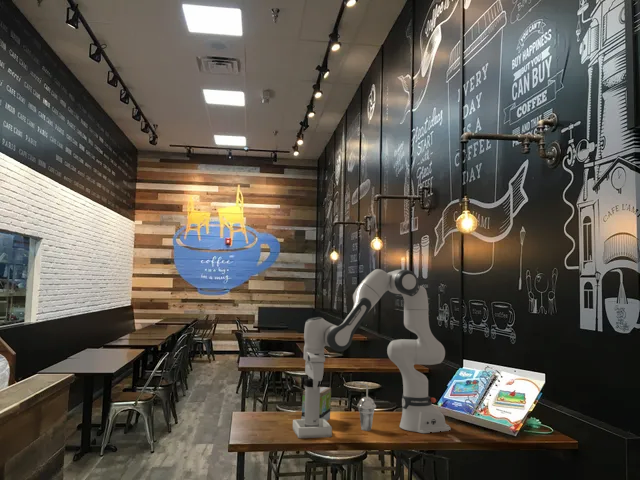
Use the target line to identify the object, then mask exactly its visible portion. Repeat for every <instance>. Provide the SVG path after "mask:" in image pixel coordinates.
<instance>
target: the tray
mask: <svg viewBox="0 0 640 480" xmlns="http://www.w3.org/2000/svg"><path fill="white" fill-rule="evenodd" d="M304 423H305V419H300V418H299V419H292V430H293V432H294V433H295V435H296V437H297V439H313V438H314V439H316V438H317V439H319V438H320V439H321V438H332V437H333V436H332V435H333V433H332V432H333V426H332V425H330V423H329V422H328V420H327V421H326V420H325V419H319V427H305V426H304Z"/></svg>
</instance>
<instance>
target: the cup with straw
mask: <svg viewBox="0 0 640 480" xmlns="http://www.w3.org/2000/svg"><path fill="white" fill-rule="evenodd" d="M355 384H358V385H360V386H363V387H366V390H365V391H366V393H365V394H366V396H363V397H361V399H359V401H358V403H357V405H356V407H358V412H359V420H360V427H361V428H360V429H361V430H362V431H372V427H373V418H374V413H375V409H376V408H377V405H376V404H375V401H374V399H373V398H371V397H370V396H369V386H368V384H367V383H362V382H359V381H355Z"/></svg>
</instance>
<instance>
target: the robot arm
mask: <svg viewBox="0 0 640 480" xmlns="http://www.w3.org/2000/svg"><path fill="white" fill-rule="evenodd" d="M386 292H388V293H390V294H396V295H401V296H402V297H403V326H404V327H405V329H407V330H408V331H410V333H413V334H415V335H416V336H417V339H411V338H410V339H405V338H403V339H402V338H400V339H399V338H398V339H394V340H391V341H390V342H389V344H388V345H387V349H386V351H387V352H386V353H387V356H388V358H389V360H390V361H391V362H392V363H393V364H394V365H395V366H397V368H398V369H399V372H400V374H401V378H402V385H403V386H402V389H403V393H402V396H401V397H402V398H401V406H402V412H401V419H400V423H399V428H400V429H402V430H405V431H408V432H409V431H410V432H416V433H420V434H430V432H432V433H440V431H441V432H449V430H450V431H452V430H451V426H450V425H449V424H447V423H446V419H445V415H444V414H443V413H442V412H441V410H439V409H438V408H437V407H436V406H434V405H433V404H434V403H436V402H437V399H436V398H435V397H431V396H429V379H428V378H427V375H425V374H424V373H422V372H420V371H418V370H417V369H415V365H424V366H431V365H432V366H433V365H438V364H442V362H443V361H444V359H445V356H446V349H445V347H444V345H443V344H442V343H441V342H440V341H439V340H438V339H437V338H436V337H435V336H434V334H433V333H432V331H431V328H430V321H429V298H428V294H427V293H428V292H427V290H426V288H425V287H424V286H423V285H420V281H419V279H418V277H417V275H416V274H415V272H413V271H411V270H409V269H395V270H390V271H387V272H386V271H385V270H383V269H381V268H376V269H374V270H372V271H371V272H370V273H369V274H368V275H366V276H365V278H364V279H363V280H362V281H361V282H360V283H359V284H358V286H357V287H356V288H355V290H354V292H353V294H352V300H353V307H352V309H351V311H350V312H349V314H347V316H346V317H345V319H344V320H343V322H342V323H341V324H339V325H336V324H333V323H331V322H329V321H327V320H325V319H324V318H323V317H321V316H317V317H310V318H308V319H307V320H306V321H305V324H304V331H303V332H304V333H303V340H304V346H303V360H304V361H305V362H304V364H305V366H304V373H305V374H306V375H307V376H308V377H307V378H308V379H313V390H317V386H318V381H320V382H322V381H323V378H324V377H323V376H324V368H325V364H324V363H326V356H325V347H328V348H331V349H332V350H334V351H335V352H344V351H346V350H347V349H348V348H349V347H350V346H351V344H352V341H353V339H354V335H355V333H356V331H357V329H358V328H359V327H360V325H361V324H362V322H363V321H364V319H365V318H366V317H367V315H368V313H369V312H370V311H371V310H372V308H374V306H375V305H376V304H377V303H378V302H379V301H380V299H381V298H382V297H383V295H384V294H385V293H386ZM308 379H307V380H308Z"/></svg>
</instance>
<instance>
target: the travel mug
mask: <svg viewBox="0 0 640 480" xmlns="http://www.w3.org/2000/svg"><path fill="white" fill-rule="evenodd" d="M320 384H321V381H318V386H317V390H313V379H306V380H305V385H304V386H305V388H304V390H305V423H304V426H305V427H319V409H320V387H321V385H320Z"/></svg>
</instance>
